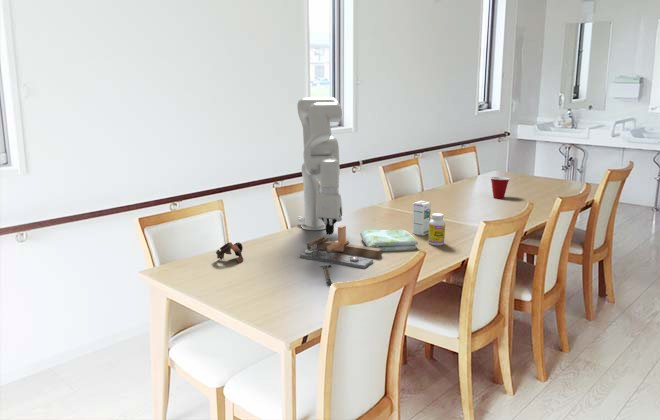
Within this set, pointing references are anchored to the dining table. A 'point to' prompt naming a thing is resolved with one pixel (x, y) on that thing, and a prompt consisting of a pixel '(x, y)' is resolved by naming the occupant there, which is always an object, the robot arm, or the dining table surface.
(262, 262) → the dining table surface
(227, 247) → the brown arched piece
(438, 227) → the supplement bottle
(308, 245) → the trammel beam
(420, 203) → the syrup box
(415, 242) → the towel
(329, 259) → the steel strip
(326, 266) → the tactical tomahawk
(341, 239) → the sliding leg
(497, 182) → the plastic cup
